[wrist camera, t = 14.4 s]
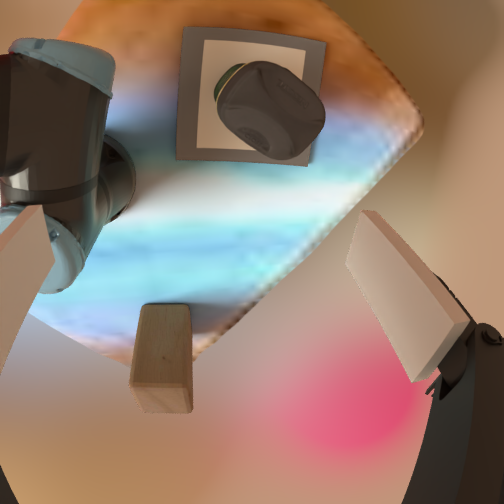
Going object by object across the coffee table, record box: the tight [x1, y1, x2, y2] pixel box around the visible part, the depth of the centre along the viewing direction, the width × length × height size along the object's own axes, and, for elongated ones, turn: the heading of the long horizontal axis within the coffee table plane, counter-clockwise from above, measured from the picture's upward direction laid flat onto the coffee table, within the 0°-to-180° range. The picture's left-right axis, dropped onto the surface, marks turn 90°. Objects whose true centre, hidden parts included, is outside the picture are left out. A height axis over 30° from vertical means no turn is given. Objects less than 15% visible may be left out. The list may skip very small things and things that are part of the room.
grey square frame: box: [176, 27, 326, 167], centre depth 39 cm, size 20×20×2 cm
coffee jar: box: [214, 61, 325, 160], centre depth 31 cm, size 10×8×19 cm
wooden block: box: [129, 304, 193, 413], centre depth 53 cm, size 10×10×20 cm
